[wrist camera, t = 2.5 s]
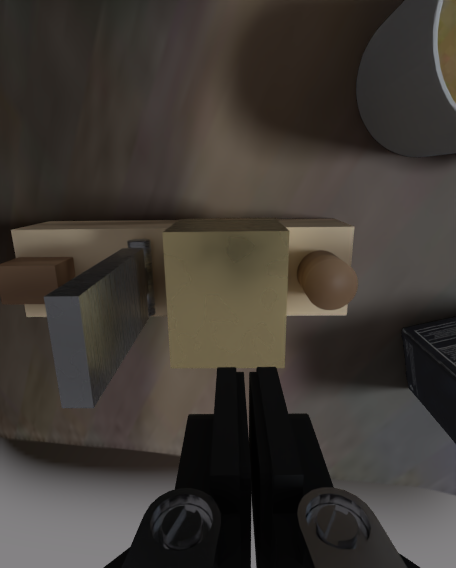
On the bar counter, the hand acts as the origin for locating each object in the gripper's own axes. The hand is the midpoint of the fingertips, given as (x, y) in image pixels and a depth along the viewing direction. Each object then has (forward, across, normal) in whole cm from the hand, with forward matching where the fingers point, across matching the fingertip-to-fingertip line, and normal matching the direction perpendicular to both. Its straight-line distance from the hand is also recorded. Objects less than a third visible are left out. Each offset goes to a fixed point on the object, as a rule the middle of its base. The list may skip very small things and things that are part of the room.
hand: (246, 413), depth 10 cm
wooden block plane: (+19, +4, -1) cm, 20 cm away
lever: (+13, +6, -1) cm, 15 cm away
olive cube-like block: (+14, +1, -1) cm, 14 cm away
